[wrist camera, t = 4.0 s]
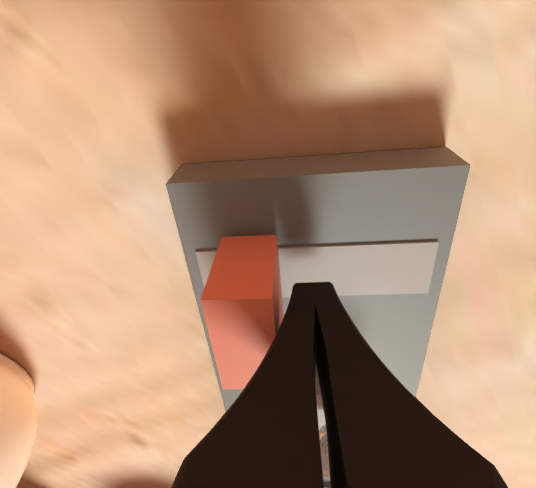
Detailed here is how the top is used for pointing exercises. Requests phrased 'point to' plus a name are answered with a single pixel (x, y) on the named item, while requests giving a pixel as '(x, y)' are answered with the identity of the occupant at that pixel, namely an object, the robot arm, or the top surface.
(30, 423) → the lidded jar
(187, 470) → the robot arm
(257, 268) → the slide paddle
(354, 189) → the panel
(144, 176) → the top surface
